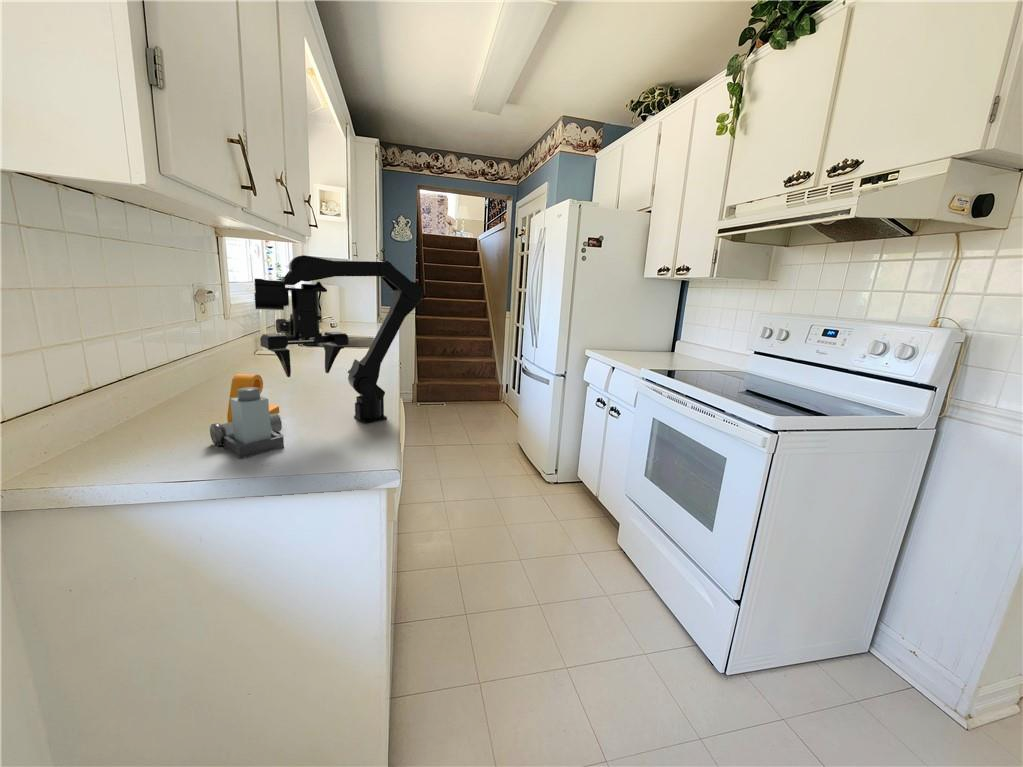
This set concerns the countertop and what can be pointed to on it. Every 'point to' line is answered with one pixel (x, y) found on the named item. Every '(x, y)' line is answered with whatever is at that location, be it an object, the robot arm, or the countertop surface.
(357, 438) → the countertop surface
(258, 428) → the grey capped bottle
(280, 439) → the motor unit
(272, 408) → the bracket
